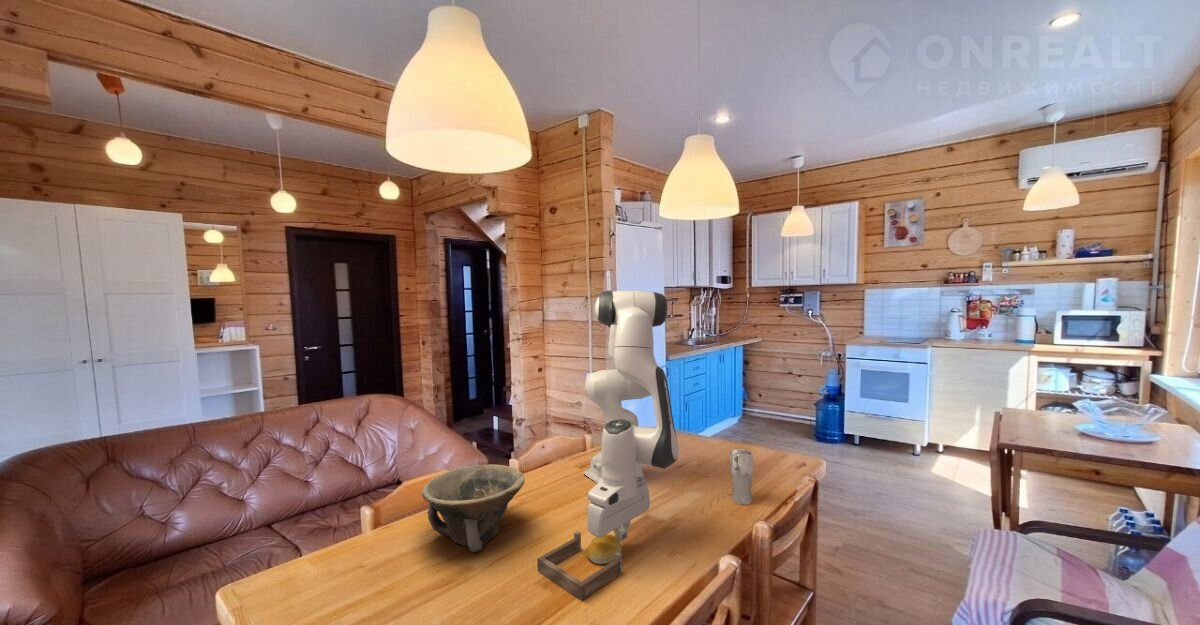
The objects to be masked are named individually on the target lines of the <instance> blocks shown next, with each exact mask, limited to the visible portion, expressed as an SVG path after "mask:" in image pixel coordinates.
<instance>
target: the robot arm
mask: <svg viewBox="0 0 1200 625" xmlns="http://www.w3.org/2000/svg"><path fill="white" fill-rule="evenodd" d="M667 301H668V300H667V297H665V295H664V294H662V293H659V292H656V291H653V292H649V291H645V290H644V291H643V290H633V289H632V290H615V291H613V290H605V291H602V292H600V294H598V297H597V299H596V302H595V305H594V312H595V315H596V317H597V320H598V322H599V323H600V324H601V325H602V324H603V325H604V326H607V327H608V328H609V333H608V347H607V354H608V356H609V358H610V359H611V360H612V361H613V363H614V366H615V368H613V369H601V370H597V371H595V372H594V371H593V372H591V373H588V375H587V377H586V379H585V380H584V381H585V382H584V391H585V392H584V393H585V394H586V397H587V398H588V399H589V400H590V401H591V402H593V403H594V404H595V405H597V406H598V407H599V409H600V410H601V411H602V413H603V416H604V420H605V425H603V429H602V434H601V450H600V451H599V452H597V453H596V454H595V455H593V457H592V458H591V460H590V464H589V465H590V467H588V468H587V469H586V470H585V471H584V472H583V475H584V474H585V475H586V476H588V477H589V478H591V479H592V480H594V481H595V482H594V481H593V482H594V483H596V482H597V483H596V484H595V485H594V487H592V488H591V489H590V490H589V491H588V492H587V500H588V501H590V502H589V504H588V507H587V530H588V532H589V534H590V535H592V536H594V537H598V538H601V537H603V536H604V535H606V534H610V533H611V532H613V533H614V535H615V536H614V537H615V538H616V539H618V541H619V542H620V543H621V542H623V541H624V540H625V539H628V538H629V537H628V536H629V535H628V534H629V533H628V531H629V529H630V527H631V526H630V525H631V521H632V520H634V519H635V518H637V517H639V516H641V515H643V514H644V513H645V512H648V511H649V509H650V507H651V501H650V500H651V498H650V497H651V496H650V491H649V487H648V484H647V478H646V477H645V475H644V472H643V471H644V470H643V466H642V465H647V466H652V467H656V468H659V469H664V470H666V469H667V468H668V467H671V466H672V465H673V464H674V463H675V462H676V461H677V460H678V457H679V450H680V449H679V442H678V438H677V434H676V433H677V432H676V428H675V424H674V416H673V411H672V403H671V397H670V390H669V385H668V380H667V377H666V373H665V370H664V369H663V368H662V367H660V366H659V365H658V364H657V362H656V358H655V353H654V343H655V342H654V331H653V330H654V329H653V328H655V327H659V326H660V327H661V326H662V325H663V324H664V323H665V322H666V320H667V318H668V315H669V304H668V302H667ZM648 397H652V402H653V409H654V410H653V412H654V416H655V424H656V427H648V426H646V427H645V426H639V419H638V416H637V414H635V413H634V412H632V411H631V410H629V409H627V408H624V407H623V405H622V402H623V401H630V400H641V399H644V398H648ZM586 476H585V477H586ZM589 478H588V479H589ZM591 479H590V480H591ZM592 480H591V481H592Z"/></svg>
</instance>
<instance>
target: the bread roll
mask: <svg viewBox="0 0 1200 625" xmlns="http://www.w3.org/2000/svg"><path fill="white" fill-rule="evenodd" d="M617 552H619V553H621V554H622V543H621V542H619V541H618V539H616V538H615V536H614V535H611V534H610V533H608V534H606V535H604V536H603V537H601V538H598V537H596V536H594V538H593V539H592V540H591V543H590V544H588V545H587V547H586V549H585V556H586V557H587V558H588V560H590V561H591V562H592V563H593V564H596V565H597V564H598V565H605V564H606V565H607V564H609V563H611V562H612V561H614V560H615V556H614V554H615V553H617Z"/></svg>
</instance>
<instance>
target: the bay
mask: <svg viewBox="0 0 1200 625" xmlns="http://www.w3.org/2000/svg"><path fill="white" fill-rule="evenodd" d="M581 534H582V532H580V531H578V530H577V531H574V533H573V538H572V539H570V540H568V541H566V542H564V543H562V544H561V545H559V546H558V547H555V548H554V549H551V550H550V551H548V552H546V553H544V554H543V555H540V556H539V557H537V558H536V562H537V564H536V565H537V566H536V567H537V572H538V571H539V573H540V574H541V573H542V575H543V576H545V577H546V579H547V578H548V579H549V580H550V581H552V582H553V583H555V584H556V585H558V586H559V587H560V588H562V589H564V590H565V591H566V592H568V593H570V594H571V595H573V596H574V597H575V596H576V599H578V598H579V599H578V600H580V601H581V600H582V601H583V600H585V599H586V598H588V597H589V596H591V595H592V594H594V593H595V592H597V591H598V590H599V589H601V588H602V587H604V586H605V585H607V584H608V583H610V582H611V581H613V580H614V579H615V578H617V577H618V576H620V575H621V574H623V554H622V552H621V553H619V552H617V553H615V554H614V556H615V560H614V561H612V562H610V563H607V564H606V565H604V566H602V568H600V569H599V570H597V571H595V572H594V573H593V574H590V575H589V576H588V577H586V578H585V579H583V580H582V581H581V580H580V579H578V578H577V577H576V576H574V575H572V574H570V573H569V572H567V571H565V570H564V569H562V568H561V567H559V566H558V565H557V564H559V563H561V562H563V561H564V560H566V559H567V558H570V557H571V556H573V555H575V554H576V553H578V552H580V551H581V550H582V535H581Z"/></svg>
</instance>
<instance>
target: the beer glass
mask: <svg viewBox="0 0 1200 625" xmlns="http://www.w3.org/2000/svg"><path fill="white" fill-rule="evenodd" d="M729 471H730V472H729V473H730V478H731V483H732V495H731V500H732V502H734V503H736V504H738V505H741V506H742V505H745V506H747V505H751V504H752V503H753V501H754V500H753V495H752V485H753V484H752V482H753V477H754V476H753V475H754V457H753V452H752V450H749V449H745V448H733V449H731V450H730V451H729Z"/></svg>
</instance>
